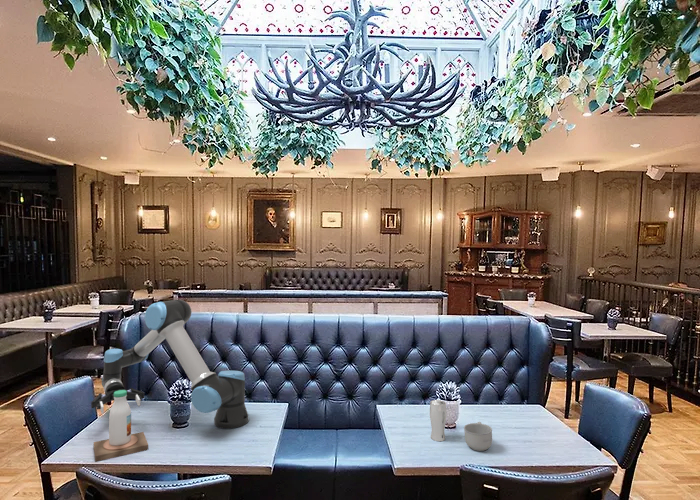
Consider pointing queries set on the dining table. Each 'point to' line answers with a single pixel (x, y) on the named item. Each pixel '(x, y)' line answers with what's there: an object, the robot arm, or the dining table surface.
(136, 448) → the serving board
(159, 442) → the dining table surface
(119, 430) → the milk bottle
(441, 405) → the beer glass
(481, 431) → the teacup
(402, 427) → the dining table surface
